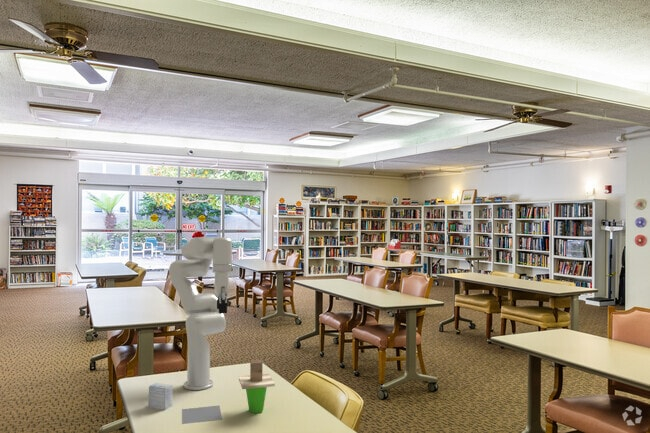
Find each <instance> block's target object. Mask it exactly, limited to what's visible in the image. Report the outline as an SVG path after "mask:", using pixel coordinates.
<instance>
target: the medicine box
mask: <svg viewBox="0 0 650 433" xmlns="http://www.w3.org/2000/svg"><path fill="white" fill-rule="evenodd" d="M171 407H173V385H172V384H169V383H168V384H167V383H160V382H155V383H152V384H151V385H149V386H148V408H149V409H150V408H151V409H157V410H163V411H167V410H168V409H170V408H171Z"/></svg>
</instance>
